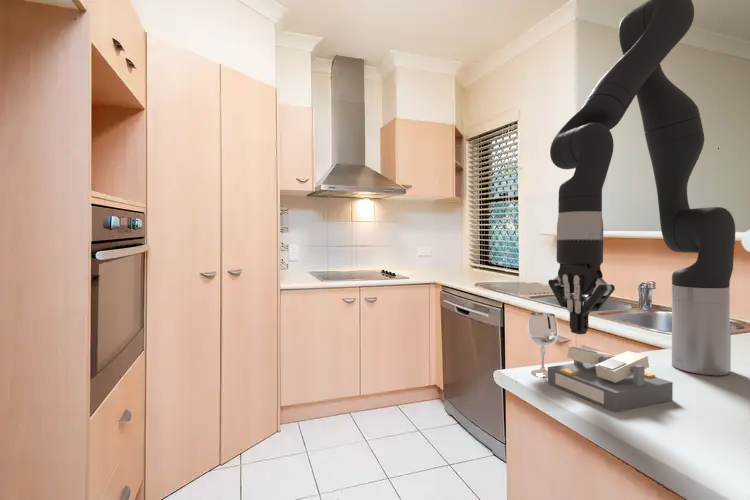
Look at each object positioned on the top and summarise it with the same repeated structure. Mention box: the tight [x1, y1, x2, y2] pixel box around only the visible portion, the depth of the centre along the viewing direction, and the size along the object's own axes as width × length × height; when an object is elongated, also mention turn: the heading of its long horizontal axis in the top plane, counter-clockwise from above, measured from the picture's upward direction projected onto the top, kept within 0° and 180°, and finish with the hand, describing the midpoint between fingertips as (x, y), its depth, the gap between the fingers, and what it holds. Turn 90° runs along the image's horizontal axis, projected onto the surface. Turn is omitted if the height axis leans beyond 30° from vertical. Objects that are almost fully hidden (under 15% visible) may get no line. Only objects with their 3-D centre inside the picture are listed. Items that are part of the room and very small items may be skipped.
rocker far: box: [595, 350, 650, 383], centre depth 68 cm, size 8×4×2 cm, turn 110°
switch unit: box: [547, 346, 674, 413], centre depth 70 cm, size 13×14×6 cm
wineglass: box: [526, 312, 559, 378], centre depth 80 cm, size 6×6×12 cm
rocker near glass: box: [566, 346, 616, 364], centre depth 73 cm, size 8×4×2 cm, turn 110°
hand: (578, 333), depth 72 cm, fingers closed
